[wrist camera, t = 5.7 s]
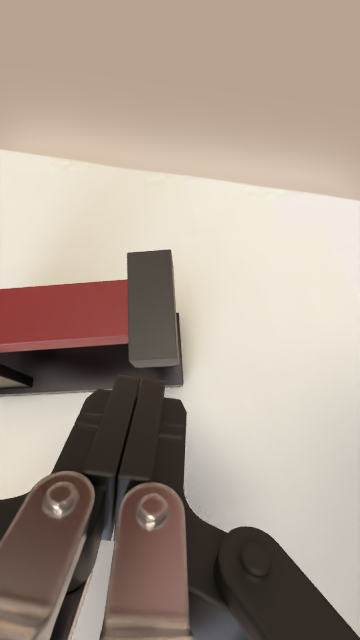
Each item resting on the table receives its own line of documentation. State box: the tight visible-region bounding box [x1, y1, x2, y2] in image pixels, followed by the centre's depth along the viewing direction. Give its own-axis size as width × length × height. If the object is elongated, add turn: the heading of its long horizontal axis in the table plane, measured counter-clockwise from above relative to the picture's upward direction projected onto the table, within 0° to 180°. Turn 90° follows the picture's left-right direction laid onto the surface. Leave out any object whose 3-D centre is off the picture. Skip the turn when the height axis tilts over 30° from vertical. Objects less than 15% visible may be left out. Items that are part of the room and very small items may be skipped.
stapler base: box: [0, 313, 183, 397], centre depth 23 cm, size 15×6×9 cm, turn 94°
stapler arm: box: [0, 250, 179, 368], centre depth 18 cm, size 13×6×2 cm, turn 94°
